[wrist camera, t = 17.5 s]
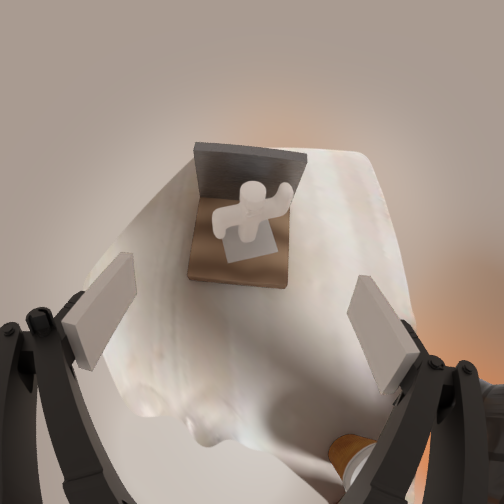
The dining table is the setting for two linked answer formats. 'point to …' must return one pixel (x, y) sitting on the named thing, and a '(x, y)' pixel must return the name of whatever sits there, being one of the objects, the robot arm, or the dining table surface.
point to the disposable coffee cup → (350, 456)
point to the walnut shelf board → (240, 272)
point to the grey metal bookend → (244, 169)
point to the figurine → (251, 221)
